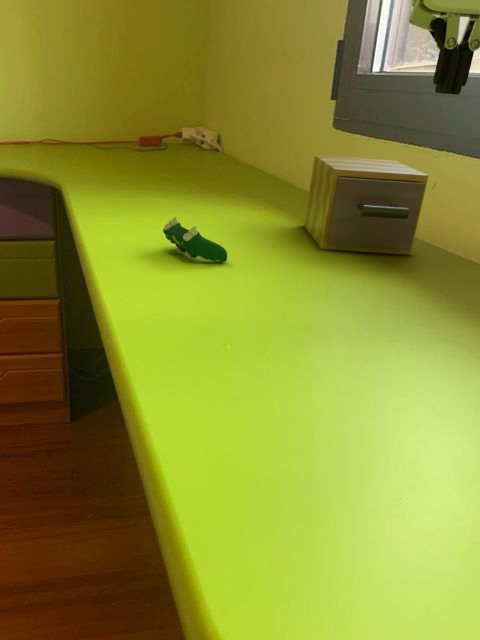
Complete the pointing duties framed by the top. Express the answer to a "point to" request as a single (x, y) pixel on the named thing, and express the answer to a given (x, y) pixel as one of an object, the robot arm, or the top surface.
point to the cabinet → (325, 188)
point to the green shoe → (193, 242)
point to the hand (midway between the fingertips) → (447, 93)
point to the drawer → (375, 212)
